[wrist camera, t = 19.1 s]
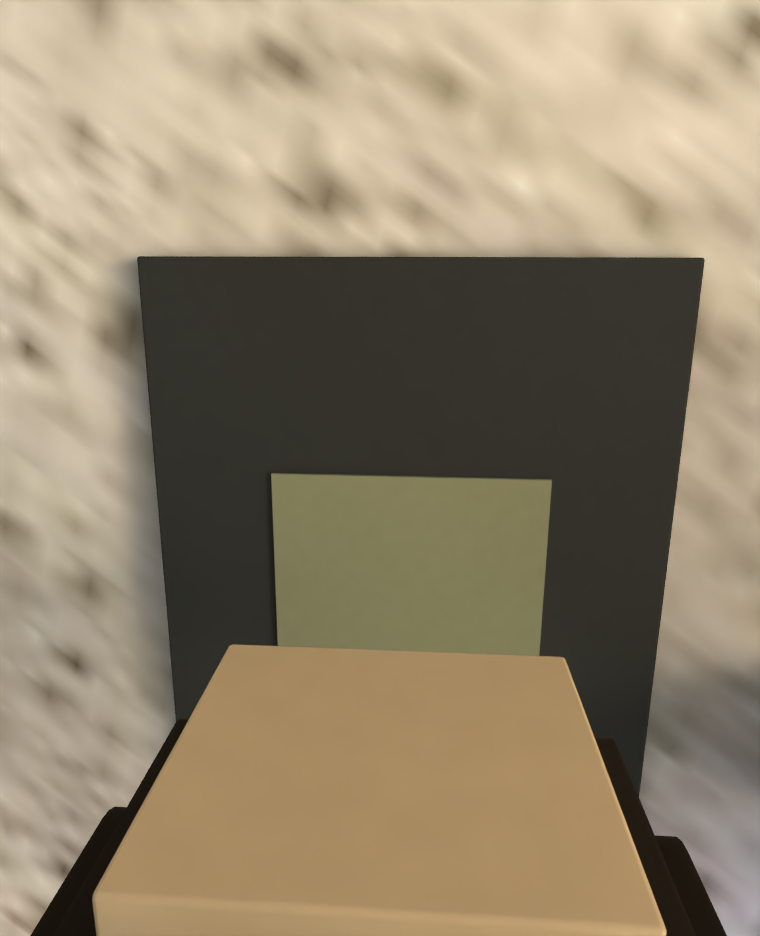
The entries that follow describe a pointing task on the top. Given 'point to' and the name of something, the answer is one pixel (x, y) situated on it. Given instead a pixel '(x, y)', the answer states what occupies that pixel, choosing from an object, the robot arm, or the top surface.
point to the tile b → (380, 806)
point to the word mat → (422, 459)
